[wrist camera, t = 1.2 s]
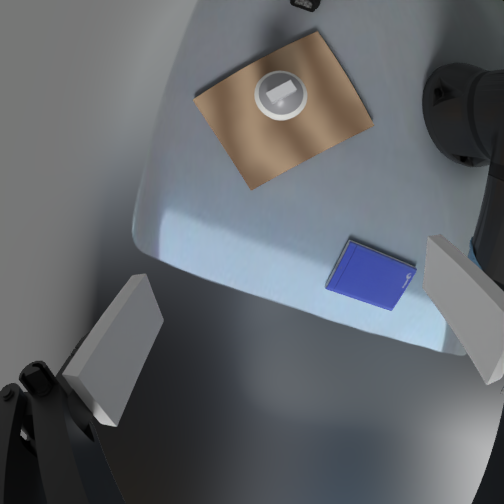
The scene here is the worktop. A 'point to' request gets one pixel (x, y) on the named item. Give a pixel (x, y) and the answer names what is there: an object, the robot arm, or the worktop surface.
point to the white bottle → (280, 95)
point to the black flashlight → (306, 4)
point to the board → (288, 131)
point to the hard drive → (370, 276)
